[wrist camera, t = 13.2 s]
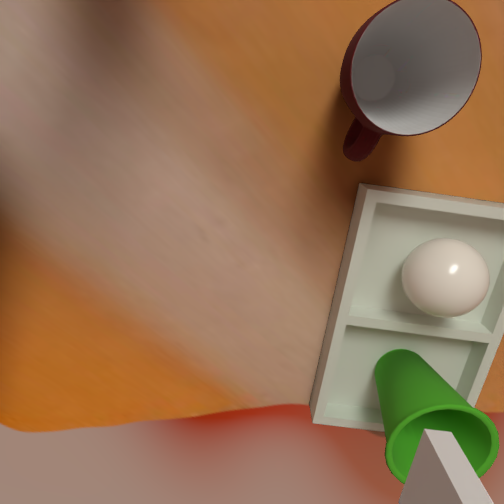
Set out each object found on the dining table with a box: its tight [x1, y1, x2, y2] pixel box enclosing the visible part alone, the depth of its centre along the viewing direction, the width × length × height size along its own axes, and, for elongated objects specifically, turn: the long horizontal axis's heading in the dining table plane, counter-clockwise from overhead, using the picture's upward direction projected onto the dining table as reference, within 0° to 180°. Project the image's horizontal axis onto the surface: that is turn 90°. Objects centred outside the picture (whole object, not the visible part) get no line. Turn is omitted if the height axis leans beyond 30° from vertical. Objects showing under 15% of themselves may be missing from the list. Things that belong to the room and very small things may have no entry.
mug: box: [340, 0, 482, 161], centre depth 30 cm, size 10×8×10 cm
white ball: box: [401, 238, 490, 318], centre depth 36 cm, size 7×7×7 cm
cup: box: [374, 349, 499, 484], centre depth 38 cm, size 9×9×11 cm
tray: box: [309, 183, 504, 432], centre depth 41 cm, size 16×25×3 cm, turn 172°
